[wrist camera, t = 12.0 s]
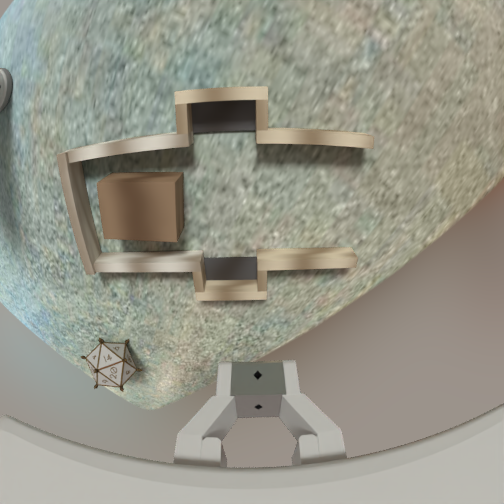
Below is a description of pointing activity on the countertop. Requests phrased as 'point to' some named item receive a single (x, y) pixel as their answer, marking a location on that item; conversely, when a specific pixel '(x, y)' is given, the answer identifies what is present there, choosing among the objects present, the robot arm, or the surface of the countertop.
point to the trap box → (188, 122)
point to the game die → (111, 364)
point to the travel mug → (5, 87)
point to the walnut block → (142, 206)
